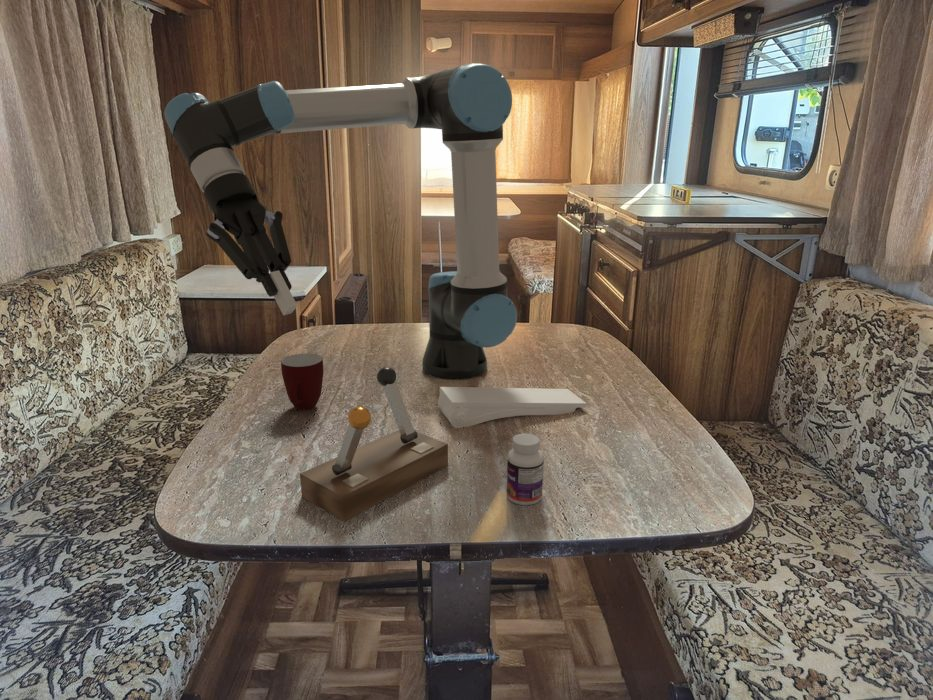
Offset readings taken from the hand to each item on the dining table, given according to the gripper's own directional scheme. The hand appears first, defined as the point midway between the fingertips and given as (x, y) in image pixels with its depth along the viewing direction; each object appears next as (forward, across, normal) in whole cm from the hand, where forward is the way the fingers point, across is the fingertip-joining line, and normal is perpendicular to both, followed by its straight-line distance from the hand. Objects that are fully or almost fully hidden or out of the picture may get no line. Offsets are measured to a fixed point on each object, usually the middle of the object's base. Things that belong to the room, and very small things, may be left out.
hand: (290, 310), depth 104 cm
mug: (+11, -10, -31) cm, 34 cm away
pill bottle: (+43, -14, +11) cm, 47 cm away
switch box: (+30, -2, -4) cm, 30 cm away
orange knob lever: (+26, +4, 0) cm, 26 cm away
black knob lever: (+26, -9, -1) cm, 28 cm away
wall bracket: (+31, -38, -8) cm, 50 cm away
